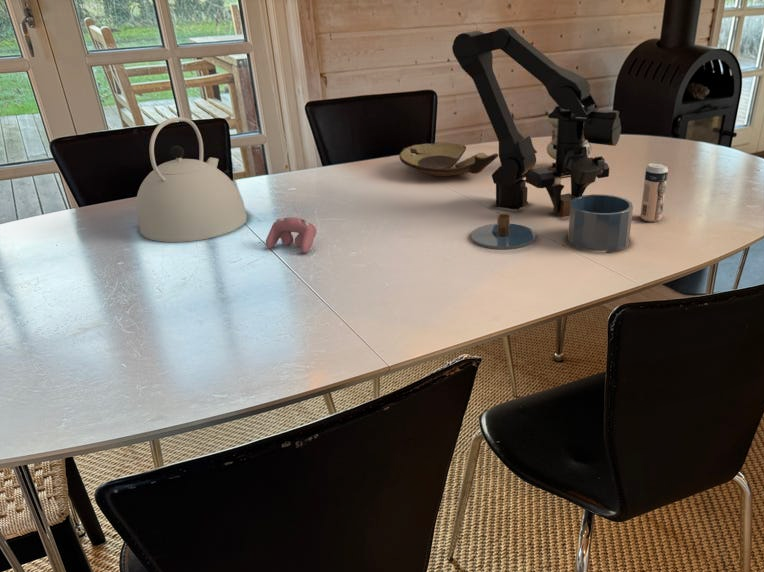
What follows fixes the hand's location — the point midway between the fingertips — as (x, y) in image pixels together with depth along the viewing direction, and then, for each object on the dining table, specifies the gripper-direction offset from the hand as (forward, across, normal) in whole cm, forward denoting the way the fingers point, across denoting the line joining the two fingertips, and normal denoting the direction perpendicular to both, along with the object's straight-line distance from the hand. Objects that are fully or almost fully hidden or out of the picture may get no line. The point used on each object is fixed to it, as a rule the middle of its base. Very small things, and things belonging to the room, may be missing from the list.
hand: (565, 210), depth 151 cm
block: (+1, 0, 0) cm, 1 cm away
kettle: (+1, -75, +36) cm, 84 cm away
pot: (+1, -3, -17) cm, 17 cm away
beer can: (+1, +15, -11) cm, 19 cm away
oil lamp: (+1, -10, +43) cm, 44 cm away
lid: (0, -20, -7) cm, 21 cm away
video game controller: (+1, -60, +11) cm, 61 cm away
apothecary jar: (+1, +20, +30) cm, 36 cm away
